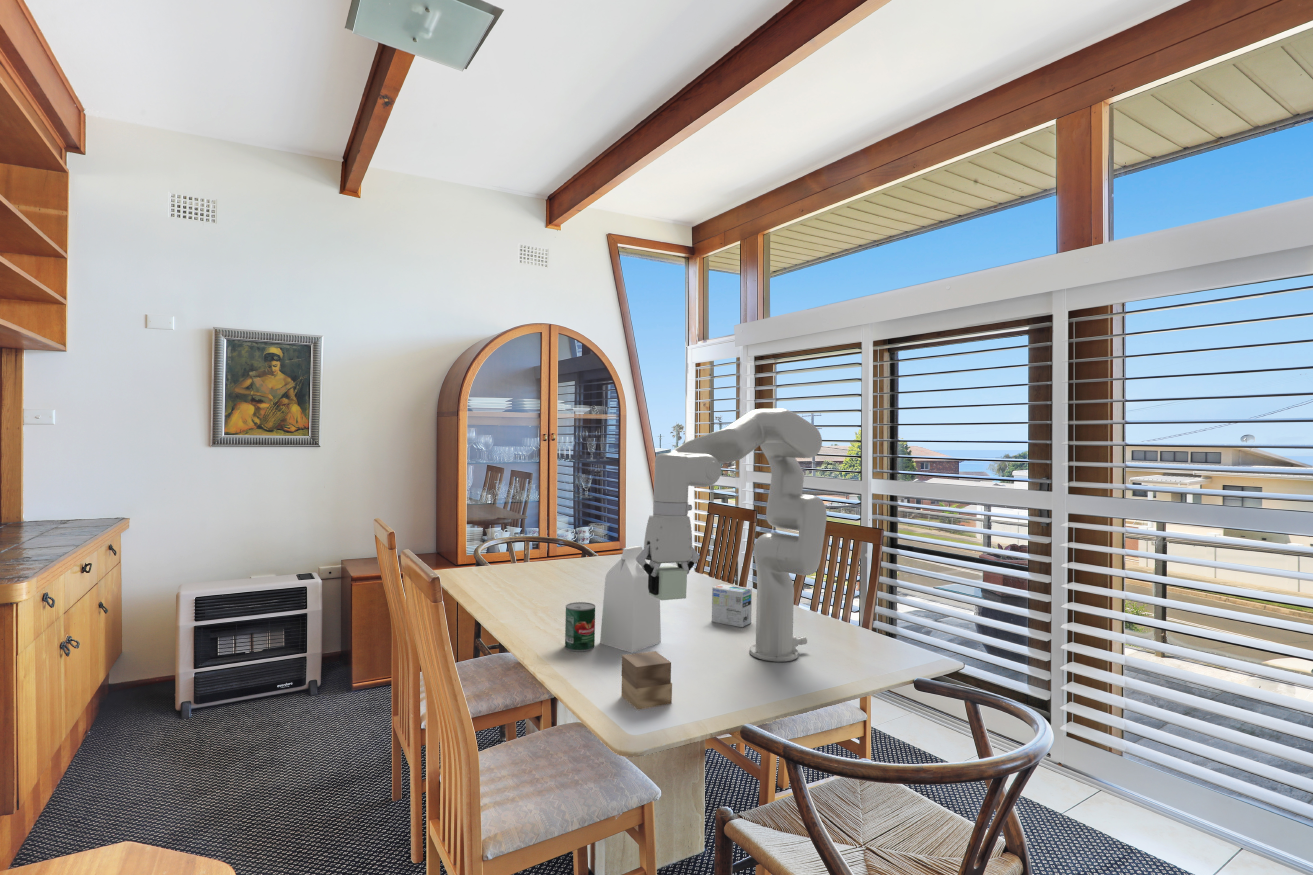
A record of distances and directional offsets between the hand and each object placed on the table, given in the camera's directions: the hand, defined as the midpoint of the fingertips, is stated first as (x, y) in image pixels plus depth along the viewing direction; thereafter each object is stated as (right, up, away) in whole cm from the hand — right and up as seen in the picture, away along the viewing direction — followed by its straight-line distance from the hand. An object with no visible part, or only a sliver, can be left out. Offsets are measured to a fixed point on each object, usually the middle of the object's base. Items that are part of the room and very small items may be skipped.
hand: (667, 591), depth 146 cm
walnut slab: (-5, -18, -3) cm, 19 cm away
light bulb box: (+21, -23, +59) cm, 67 cm away
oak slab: (-5, -23, -3) cm, 23 cm away
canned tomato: (-23, -22, +32) cm, 45 cm away
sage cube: (0, -1, 0) cm, 1 cm away
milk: (-9, -22, +37) cm, 44 cm away
